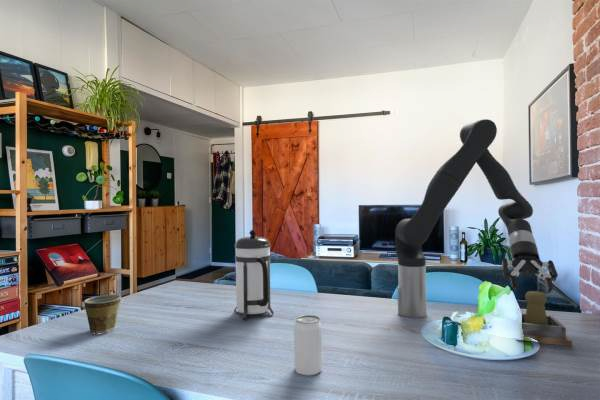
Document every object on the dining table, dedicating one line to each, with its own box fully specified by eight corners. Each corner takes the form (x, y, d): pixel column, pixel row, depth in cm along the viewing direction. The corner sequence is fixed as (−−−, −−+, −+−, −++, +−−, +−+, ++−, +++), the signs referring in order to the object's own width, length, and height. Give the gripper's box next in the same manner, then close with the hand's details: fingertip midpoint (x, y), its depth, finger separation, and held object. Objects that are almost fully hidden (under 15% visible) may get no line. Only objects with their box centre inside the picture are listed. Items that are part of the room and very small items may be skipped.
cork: (553, 333, 100) (552, 294, 100) (529, 332, 101) (528, 294, 101) (542, 326, 106) (542, 289, 106) (520, 325, 107) (520, 288, 107)
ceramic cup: (127, 327, 113) (127, 296, 113) (98, 338, 104) (98, 304, 104) (100, 322, 119) (100, 292, 119) (70, 332, 110) (70, 300, 110)
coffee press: (221, 319, 121) (221, 231, 121) (246, 306, 135) (245, 228, 136) (267, 325, 114) (266, 232, 114) (287, 310, 129) (286, 228, 129)
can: (293, 364, 86) (293, 315, 86) (320, 363, 87) (319, 314, 87) (295, 377, 80) (295, 324, 80) (324, 375, 80) (323, 322, 80)
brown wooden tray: (516, 340, 99) (515, 324, 99) (506, 325, 111) (506, 310, 111) (571, 346, 95) (571, 329, 95) (555, 329, 107) (555, 314, 107)
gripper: (500, 239, 117) (507, 281, 106) (551, 240, 112) (564, 284, 101) (497, 253, 122) (504, 294, 111) (546, 255, 117) (558, 298, 106)
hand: (532, 289), depth 106 cm, fingers open, 8 cm apart
